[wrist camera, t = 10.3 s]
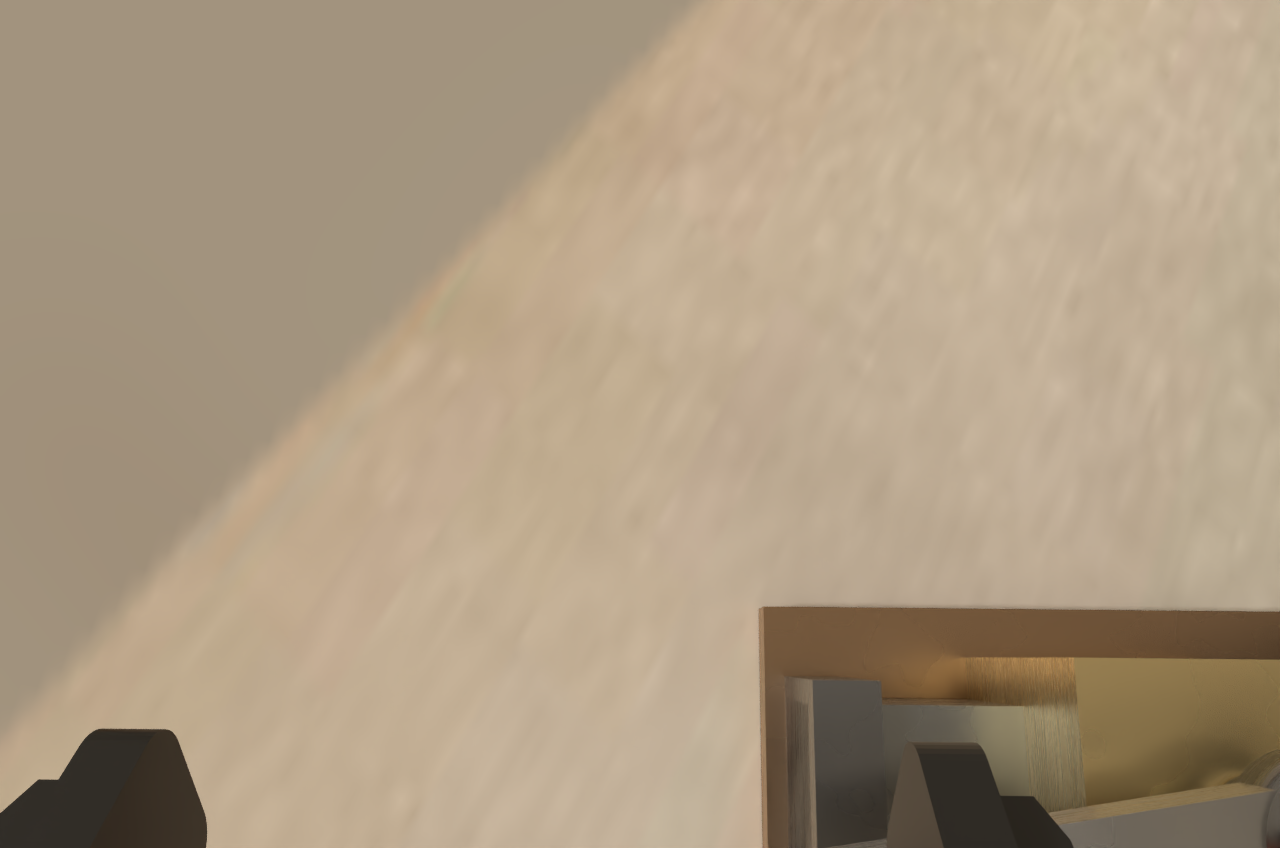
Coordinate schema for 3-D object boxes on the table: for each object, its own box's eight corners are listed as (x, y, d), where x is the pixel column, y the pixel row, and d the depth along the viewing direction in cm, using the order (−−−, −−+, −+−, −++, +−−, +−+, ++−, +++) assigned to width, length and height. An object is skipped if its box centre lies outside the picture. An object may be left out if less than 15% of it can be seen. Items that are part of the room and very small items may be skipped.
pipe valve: (1369, 615, 26) (1734, 593, 17) (1422, 949, 24) (1861, 1117, 15) (758, 609, 26) (809, 584, 17) (764, 938, 24) (824, 1096, 16)
